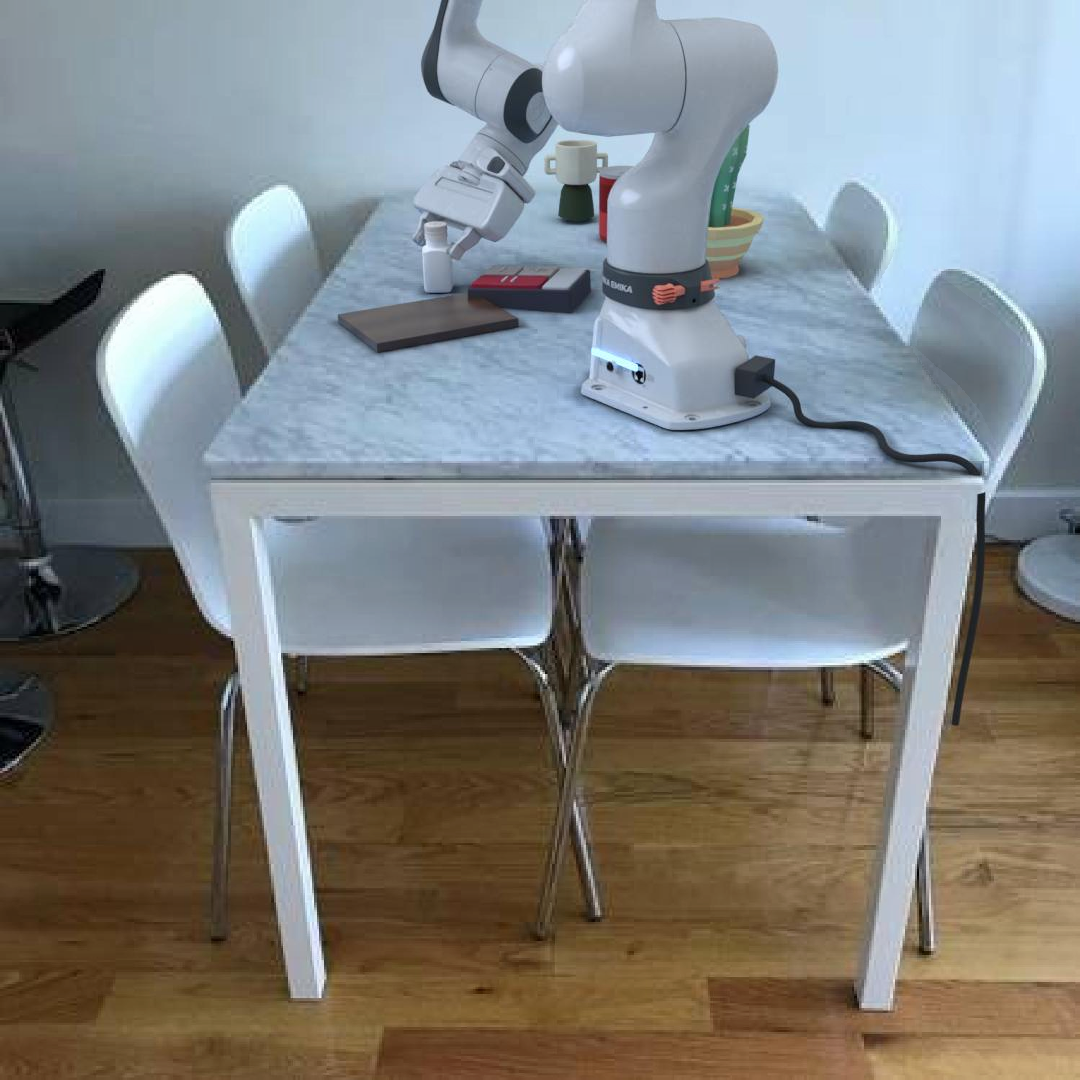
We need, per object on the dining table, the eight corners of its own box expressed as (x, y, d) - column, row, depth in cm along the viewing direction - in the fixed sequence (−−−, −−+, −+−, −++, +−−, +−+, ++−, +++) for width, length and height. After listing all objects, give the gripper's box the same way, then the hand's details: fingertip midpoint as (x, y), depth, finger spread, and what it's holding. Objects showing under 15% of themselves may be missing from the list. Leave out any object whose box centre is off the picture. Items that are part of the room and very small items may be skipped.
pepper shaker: (452, 293, 176) (448, 227, 172) (424, 294, 176) (420, 227, 172) (453, 285, 180) (450, 220, 175) (426, 286, 180) (422, 220, 175)
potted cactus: (754, 256, 191) (765, 87, 180) (767, 284, 178) (780, 103, 166) (654, 257, 192) (659, 88, 180) (660, 285, 178) (665, 104, 167)
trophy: (604, 214, 218) (605, 138, 211) (610, 224, 211) (611, 145, 205) (543, 216, 217) (542, 140, 211) (546, 226, 211) (545, 147, 204)
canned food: (610, 246, 198) (611, 177, 193) (591, 235, 204) (591, 167, 199) (653, 241, 200) (655, 172, 195) (632, 230, 207) (634, 163, 202)
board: (518, 326, 162) (518, 318, 162) (377, 352, 154) (376, 343, 153) (472, 300, 173) (472, 291, 173) (338, 322, 165) (337, 314, 164)
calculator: (490, 262, 179) (590, 263, 175) (493, 291, 181) (591, 293, 177) (465, 283, 170) (570, 285, 165) (468, 313, 172) (571, 316, 167)
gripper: (436, 146, 181) (383, 223, 180) (515, 167, 166) (457, 251, 166) (463, 173, 185) (411, 248, 185) (543, 196, 170) (486, 278, 170)
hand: (434, 250), depth 175 cm, fingers open, 8 cm apart
